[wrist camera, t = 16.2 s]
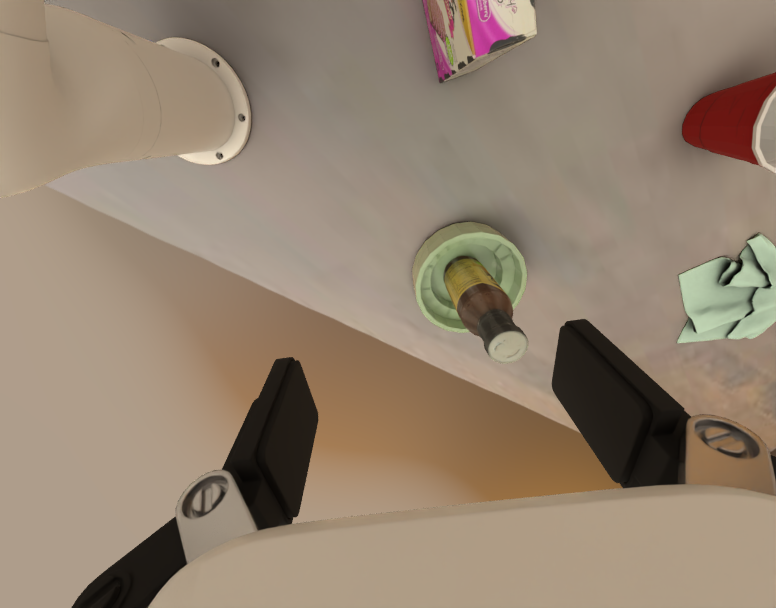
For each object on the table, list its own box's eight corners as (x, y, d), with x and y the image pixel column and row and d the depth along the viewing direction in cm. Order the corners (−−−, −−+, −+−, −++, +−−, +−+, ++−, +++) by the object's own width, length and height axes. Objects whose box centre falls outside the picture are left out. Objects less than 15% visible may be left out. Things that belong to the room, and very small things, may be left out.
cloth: (757, 343, 58) (772, 351, 55) (642, 342, 57) (653, 350, 55) (839, 234, 48) (860, 239, 45) (701, 231, 47) (716, 235, 45)
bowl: (402, 304, 52) (404, 323, 46) (426, 210, 44) (433, 221, 39) (489, 319, 53) (501, 339, 48) (527, 232, 46) (546, 245, 41)
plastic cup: (768, 54, 37) (925, 24, 26) (737, 155, 42) (856, 163, 31) (671, 76, 37) (785, 55, 27) (652, 172, 43) (741, 185, 32)
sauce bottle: (483, 286, 49) (540, 370, 32) (444, 294, 50) (479, 381, 33) (480, 248, 46) (541, 318, 29) (438, 257, 47) (474, 332, 30)
